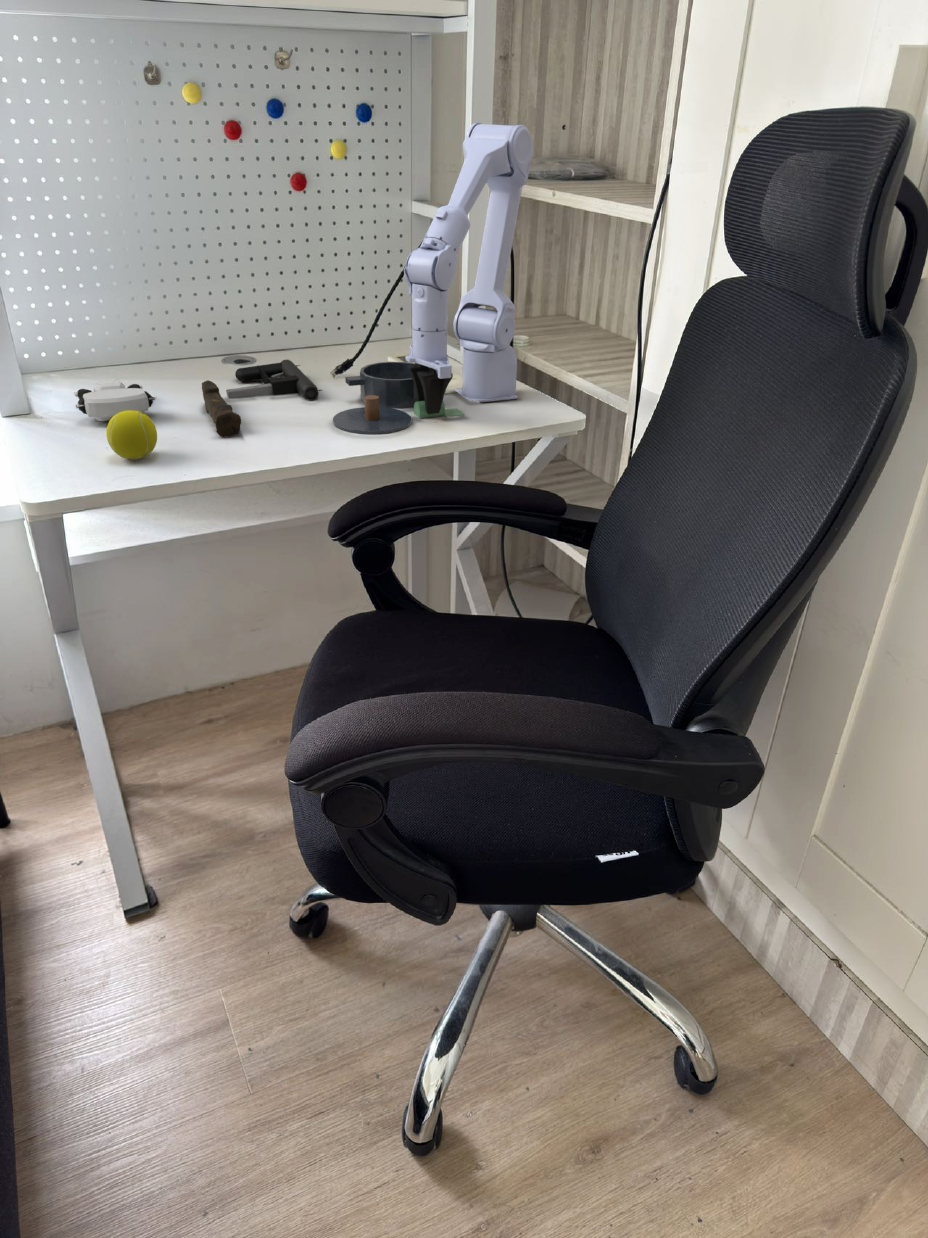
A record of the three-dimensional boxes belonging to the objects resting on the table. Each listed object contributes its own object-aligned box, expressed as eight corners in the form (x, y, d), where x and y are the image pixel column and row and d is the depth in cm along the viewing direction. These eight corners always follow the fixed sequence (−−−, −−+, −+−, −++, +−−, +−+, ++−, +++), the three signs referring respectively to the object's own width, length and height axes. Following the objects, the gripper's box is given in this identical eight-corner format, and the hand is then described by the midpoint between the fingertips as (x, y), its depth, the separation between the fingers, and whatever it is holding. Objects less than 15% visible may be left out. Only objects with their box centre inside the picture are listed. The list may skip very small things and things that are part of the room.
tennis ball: (163, 448, 139) (156, 403, 136) (157, 465, 134) (150, 418, 130) (115, 450, 138) (107, 404, 135) (107, 466, 132) (98, 419, 129)
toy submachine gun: (233, 396, 155) (324, 383, 160) (213, 367, 171) (297, 356, 176) (236, 415, 157) (326, 401, 162) (216, 385, 173) (299, 373, 178)
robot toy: (73, 409, 158) (81, 429, 145) (68, 383, 156) (76, 400, 143) (147, 402, 162) (161, 420, 150) (143, 376, 160) (156, 392, 148)
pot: (338, 396, 166) (337, 365, 163) (429, 387, 172) (429, 358, 169) (358, 415, 156) (357, 383, 153) (453, 406, 162) (454, 375, 159)
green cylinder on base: (420, 422, 154) (420, 405, 152) (412, 416, 157) (412, 398, 155) (464, 418, 156) (464, 400, 155) (456, 411, 159) (456, 394, 158)
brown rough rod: (243, 436, 145) (240, 407, 143) (217, 438, 144) (214, 409, 142) (224, 403, 161) (221, 376, 158) (201, 404, 159) (198, 378, 157)
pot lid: (324, 417, 155) (322, 389, 152) (396, 410, 159) (396, 383, 157) (345, 441, 144) (344, 412, 142) (422, 432, 149) (422, 404, 147)
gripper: (392, 320, 153) (393, 400, 160) (422, 339, 141) (422, 425, 148) (431, 317, 155) (430, 396, 162) (464, 336, 144) (462, 420, 150)
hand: (429, 409), depth 155 cm, fingers closed on green cylinder on base, 3 cm apart
